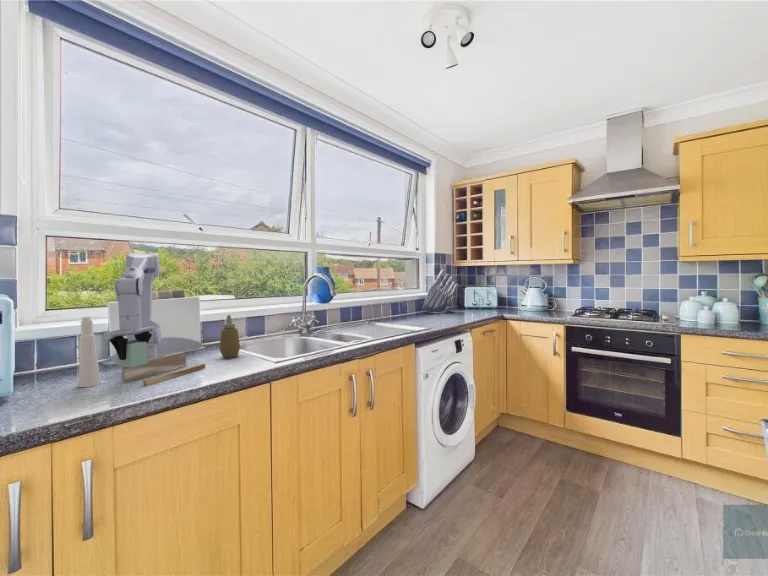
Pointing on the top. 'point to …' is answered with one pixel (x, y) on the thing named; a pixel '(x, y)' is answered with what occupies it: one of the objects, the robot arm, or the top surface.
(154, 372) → the cleat board
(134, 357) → the teal box
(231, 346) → the squeeze bottle
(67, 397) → the top surface
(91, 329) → the cosmetic bottle
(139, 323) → the robot arm
